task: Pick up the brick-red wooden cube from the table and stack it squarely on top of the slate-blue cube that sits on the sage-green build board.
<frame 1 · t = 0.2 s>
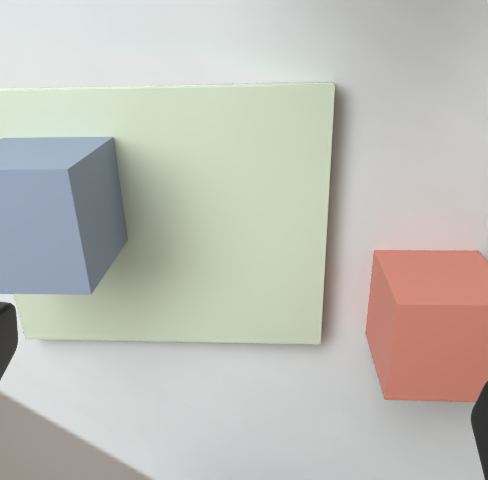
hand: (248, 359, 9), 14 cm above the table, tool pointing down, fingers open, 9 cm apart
blue brick: (68, 191, 22), point 1 cm above the table, touching build board
red brick: (418, 293, 24), on the table
build board: (162, 222, 23), on the table
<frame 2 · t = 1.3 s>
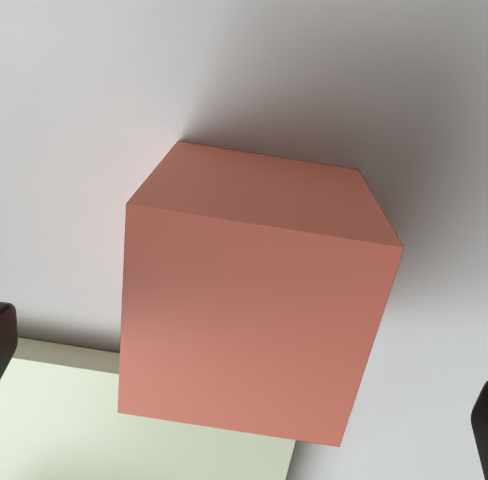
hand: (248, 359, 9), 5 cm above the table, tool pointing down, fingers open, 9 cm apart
red brick: (254, 236, 14), on the table
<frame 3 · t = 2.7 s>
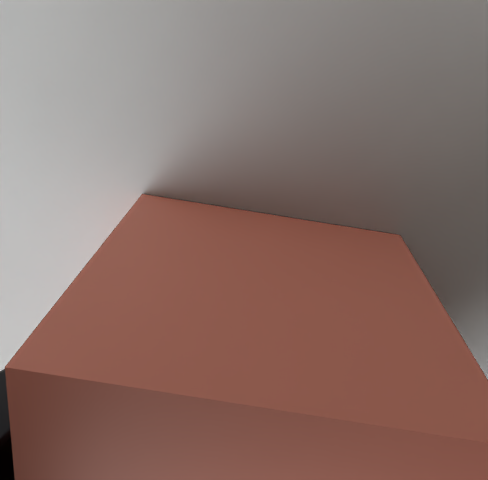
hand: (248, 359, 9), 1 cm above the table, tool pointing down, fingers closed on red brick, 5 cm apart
red brick: (251, 322, 10), on the table, touching gripper
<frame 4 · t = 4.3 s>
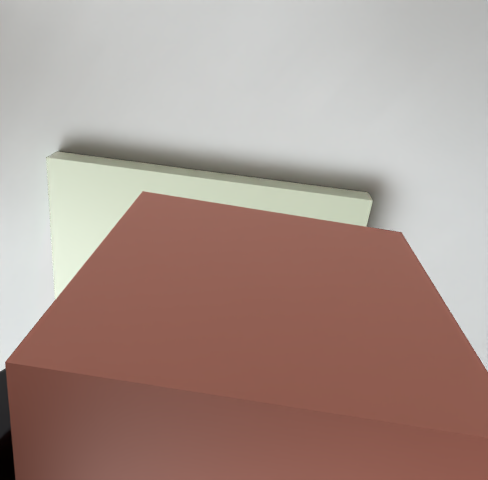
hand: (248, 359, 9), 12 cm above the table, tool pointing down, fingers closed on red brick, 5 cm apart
red brick: (252, 319, 10), point 10 cm above the table, touching gripper
build board: (197, 330, 23), on the table
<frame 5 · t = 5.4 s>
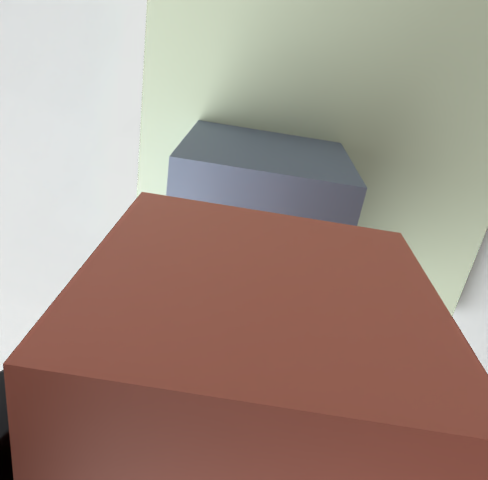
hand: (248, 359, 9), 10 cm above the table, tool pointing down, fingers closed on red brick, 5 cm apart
blue brick: (258, 198, 17), point 1 cm above the table, touching build board
red brick: (251, 320, 10), point 9 cm above the table, touching gripper
build board: (333, 92, 16), on the table
when the fingers open (8 cm above the table, at t = 6.2 s): red brick stays where it is, resting on blue brick.
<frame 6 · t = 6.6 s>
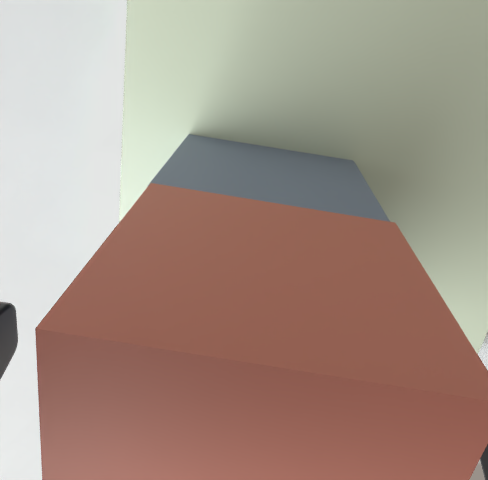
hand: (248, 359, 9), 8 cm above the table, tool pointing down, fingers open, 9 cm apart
blue brick: (258, 223, 15), point 1 cm above the table, touching build board, red brick
red brick: (253, 306, 10), point 6 cm above the table, touching blue brick
build board: (344, 101, 14), on the table
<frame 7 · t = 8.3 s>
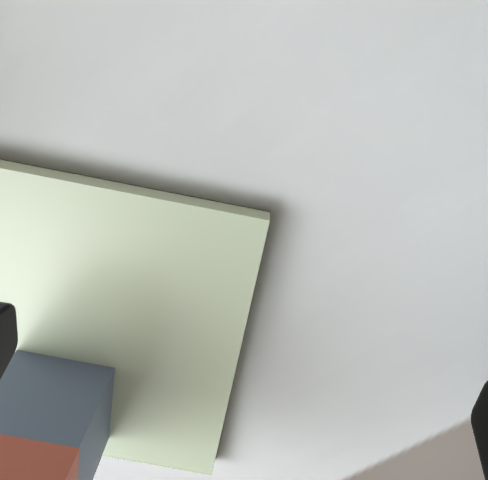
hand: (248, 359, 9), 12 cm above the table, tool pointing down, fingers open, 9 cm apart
blue brick: (65, 395, 25), point 1 cm above the table, touching build board, red brick
red brick: (19, 478, 20), point 6 cm above the table, touching blue brick
build board: (113, 330, 24), on the table
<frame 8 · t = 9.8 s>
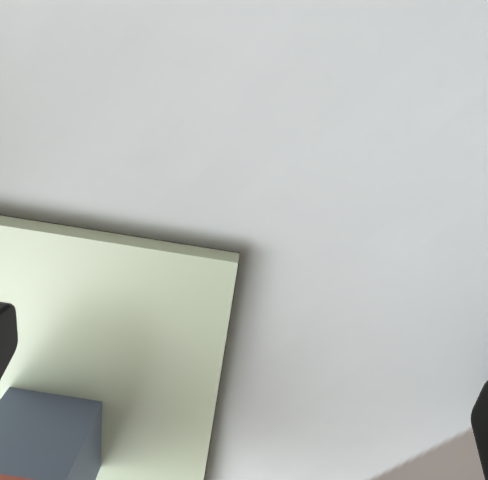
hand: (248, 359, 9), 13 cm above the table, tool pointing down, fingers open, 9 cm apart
blue brick: (56, 428, 26), point 1 cm above the table, touching build board, red brick
build board: (99, 365, 25), on the table
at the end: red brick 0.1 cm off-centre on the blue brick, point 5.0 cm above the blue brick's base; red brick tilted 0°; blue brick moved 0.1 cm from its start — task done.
